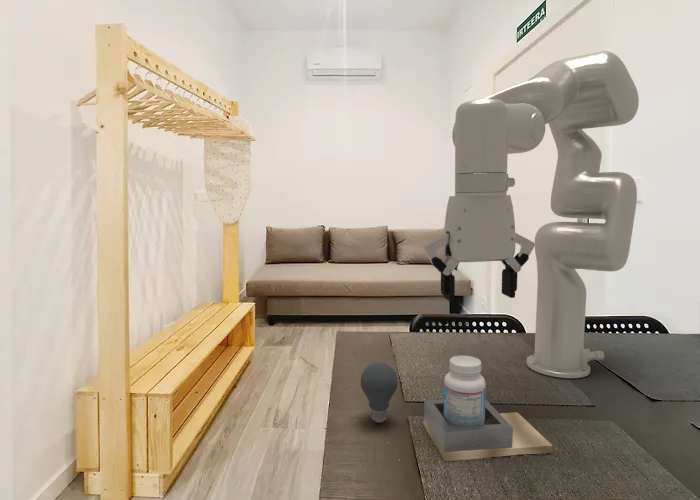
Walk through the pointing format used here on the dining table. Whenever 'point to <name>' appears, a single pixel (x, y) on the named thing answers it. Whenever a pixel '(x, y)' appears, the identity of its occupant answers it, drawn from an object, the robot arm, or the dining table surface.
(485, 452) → the board
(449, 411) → the pill bottle
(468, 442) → the collar
